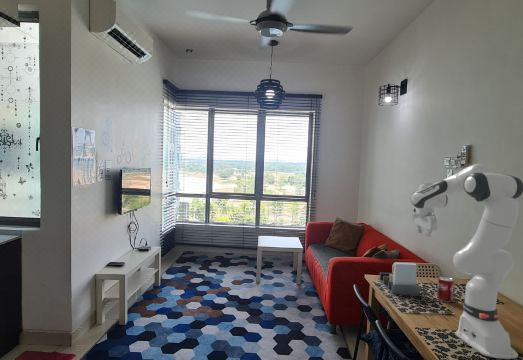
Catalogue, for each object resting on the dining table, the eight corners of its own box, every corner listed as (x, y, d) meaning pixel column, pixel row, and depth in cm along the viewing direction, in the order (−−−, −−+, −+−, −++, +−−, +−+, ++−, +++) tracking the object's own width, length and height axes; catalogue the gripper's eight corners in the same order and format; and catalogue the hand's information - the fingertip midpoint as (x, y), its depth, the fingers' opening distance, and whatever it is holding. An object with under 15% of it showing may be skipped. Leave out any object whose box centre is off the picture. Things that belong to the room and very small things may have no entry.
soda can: (448, 297, 173) (449, 276, 172) (454, 303, 166) (456, 281, 165) (434, 296, 174) (436, 275, 173) (440, 302, 166) (442, 280, 166)
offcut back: (407, 285, 185) (407, 276, 184) (390, 285, 185) (390, 275, 185) (405, 284, 187) (405, 274, 187) (388, 283, 188) (389, 274, 187)
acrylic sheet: (415, 291, 176) (417, 264, 175) (394, 291, 177) (395, 264, 176) (413, 290, 179) (414, 263, 178) (392, 289, 179) (394, 262, 178)
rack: (420, 295, 175) (420, 286, 175) (391, 293, 175) (392, 285, 175) (403, 280, 197) (403, 272, 196) (378, 279, 197) (378, 271, 197)
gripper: (441, 214, 167) (439, 239, 168) (421, 208, 187) (420, 231, 188) (429, 214, 167) (427, 239, 168) (411, 208, 187) (410, 230, 188)
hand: (423, 234), depth 178 cm, fingers open, 8 cm apart
